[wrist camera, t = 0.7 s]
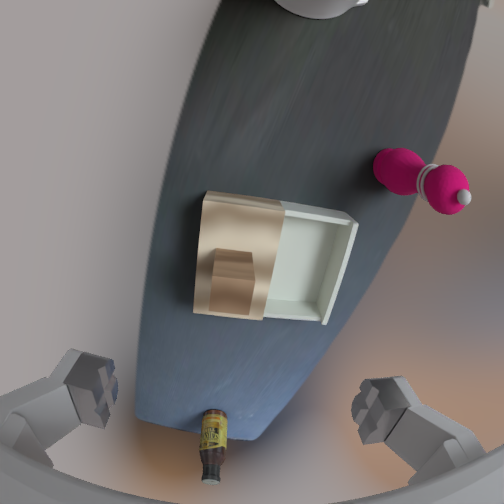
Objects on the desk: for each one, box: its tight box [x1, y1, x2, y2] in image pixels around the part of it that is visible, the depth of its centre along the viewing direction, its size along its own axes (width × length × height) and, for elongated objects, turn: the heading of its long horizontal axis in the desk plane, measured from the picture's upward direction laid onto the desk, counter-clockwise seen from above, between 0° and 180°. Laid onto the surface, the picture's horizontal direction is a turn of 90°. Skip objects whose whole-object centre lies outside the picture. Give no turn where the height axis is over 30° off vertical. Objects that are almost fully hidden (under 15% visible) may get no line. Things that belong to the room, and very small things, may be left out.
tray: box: [263, 201, 359, 325], centre depth 46 cm, size 18×11×6 cm, turn 171°
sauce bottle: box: [199, 410, 227, 485], centre depth 57 cm, size 7×6×20 cm
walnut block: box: [209, 248, 255, 315], centre depth 39 cm, size 5×5×8 cm
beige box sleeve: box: [193, 191, 285, 320], centre depth 45 cm, size 18×11×6 cm, turn 171°
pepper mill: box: [373, 148, 471, 215], centre depth 34 cm, size 7×7×20 cm
